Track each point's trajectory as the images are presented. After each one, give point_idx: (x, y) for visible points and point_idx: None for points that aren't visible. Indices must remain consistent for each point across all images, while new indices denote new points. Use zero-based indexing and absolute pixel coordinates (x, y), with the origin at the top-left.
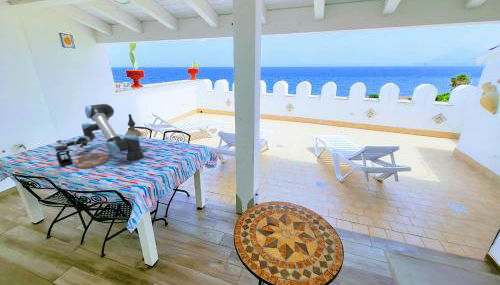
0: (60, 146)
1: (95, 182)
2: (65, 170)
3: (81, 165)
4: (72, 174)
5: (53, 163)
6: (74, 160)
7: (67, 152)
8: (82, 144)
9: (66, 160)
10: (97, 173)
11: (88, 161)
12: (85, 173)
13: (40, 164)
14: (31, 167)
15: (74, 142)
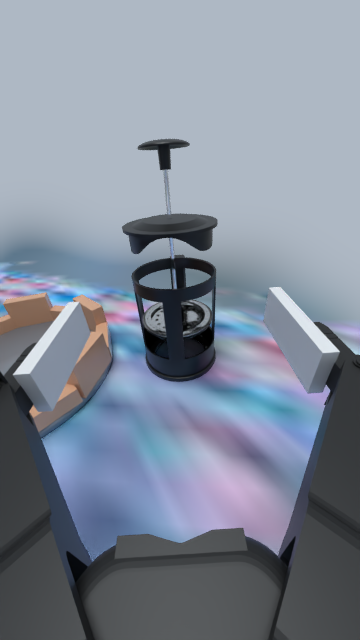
0: (180, 219)
1: (16, 272)
2: (137, 308)
3: (63, 307)
4: (93, 291)
5: (282, 362)
6: (99, 306)
7: (134, 272)
8: (13, 386)
9: (197, 362)
10: (5, 297)
11: (19, 301)
12: (48, 296)
13: (355, 351)
14: (348, 324)
15: (300, 531)
